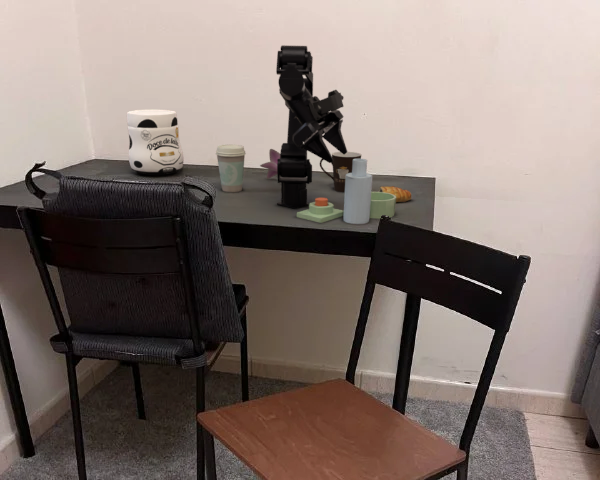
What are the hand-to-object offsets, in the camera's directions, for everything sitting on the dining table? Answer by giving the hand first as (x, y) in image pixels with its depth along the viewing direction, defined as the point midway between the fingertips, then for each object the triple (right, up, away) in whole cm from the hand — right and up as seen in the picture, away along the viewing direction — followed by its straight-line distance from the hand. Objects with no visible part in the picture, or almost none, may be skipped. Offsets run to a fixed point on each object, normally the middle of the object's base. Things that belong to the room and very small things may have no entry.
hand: (338, 157), depth 150 cm
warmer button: (-4, -10, +6) cm, 12 cm away
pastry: (+16, -3, +24) cm, 29 cm away
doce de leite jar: (-56, +15, +51) cm, 77 cm away
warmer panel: (-4, -12, +8) cm, 15 cm away
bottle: (+5, -14, +4) cm, 16 cm away
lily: (-16, +9, +43) cm, 46 cm away
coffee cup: (-30, +3, +31) cm, 43 cm away
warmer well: (+10, -11, +11) cm, 18 cm away
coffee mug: (+3, +4, +35) cm, 35 cm away
